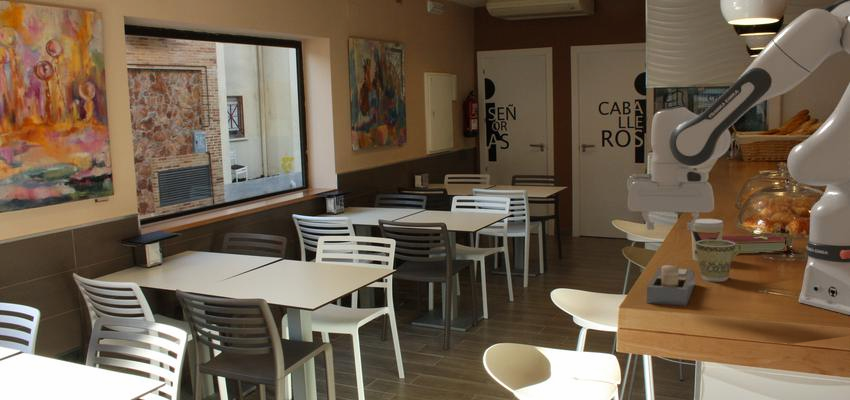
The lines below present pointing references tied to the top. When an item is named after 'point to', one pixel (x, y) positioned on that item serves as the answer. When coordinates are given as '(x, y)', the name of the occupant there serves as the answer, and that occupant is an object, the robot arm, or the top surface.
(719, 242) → the ceramic cup
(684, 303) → the grey slotted box
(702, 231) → the coffee cup
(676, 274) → the peg
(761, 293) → the top surface
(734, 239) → the hardcover book
